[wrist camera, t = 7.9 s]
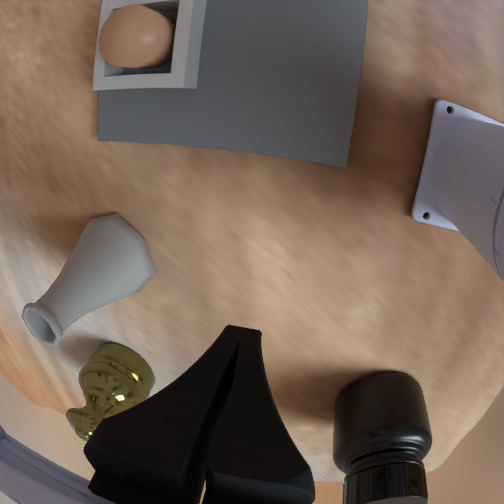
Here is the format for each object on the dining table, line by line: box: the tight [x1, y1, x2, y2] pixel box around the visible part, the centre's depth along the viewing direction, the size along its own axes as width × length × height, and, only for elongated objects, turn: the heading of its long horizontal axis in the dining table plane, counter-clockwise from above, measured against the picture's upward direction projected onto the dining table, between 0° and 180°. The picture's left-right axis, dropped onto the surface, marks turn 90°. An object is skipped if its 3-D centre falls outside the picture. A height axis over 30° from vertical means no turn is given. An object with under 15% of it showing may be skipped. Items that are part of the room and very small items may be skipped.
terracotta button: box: [99, 4, 176, 69], centre depth 14 cm, size 4×4×3 cm
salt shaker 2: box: [66, 343, 155, 441], centre depth 27 cm, size 7×7×10 cm
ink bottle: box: [333, 373, 432, 504], centre depth 22 cm, size 10×9×12 cm
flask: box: [22, 213, 155, 347], centre depth 20 cm, size 7×7×10 cm
